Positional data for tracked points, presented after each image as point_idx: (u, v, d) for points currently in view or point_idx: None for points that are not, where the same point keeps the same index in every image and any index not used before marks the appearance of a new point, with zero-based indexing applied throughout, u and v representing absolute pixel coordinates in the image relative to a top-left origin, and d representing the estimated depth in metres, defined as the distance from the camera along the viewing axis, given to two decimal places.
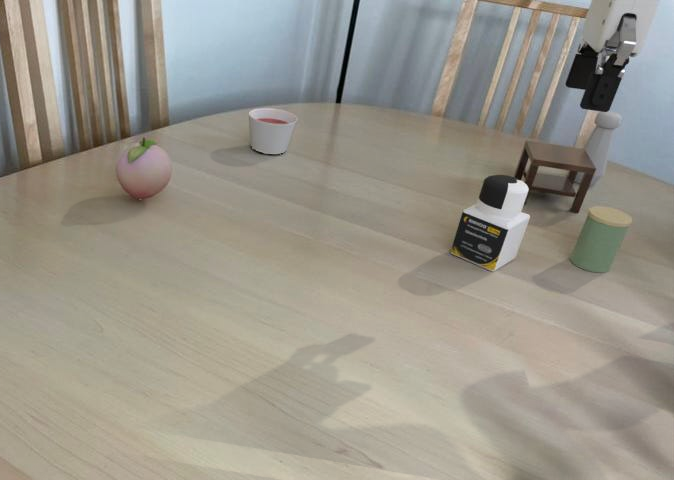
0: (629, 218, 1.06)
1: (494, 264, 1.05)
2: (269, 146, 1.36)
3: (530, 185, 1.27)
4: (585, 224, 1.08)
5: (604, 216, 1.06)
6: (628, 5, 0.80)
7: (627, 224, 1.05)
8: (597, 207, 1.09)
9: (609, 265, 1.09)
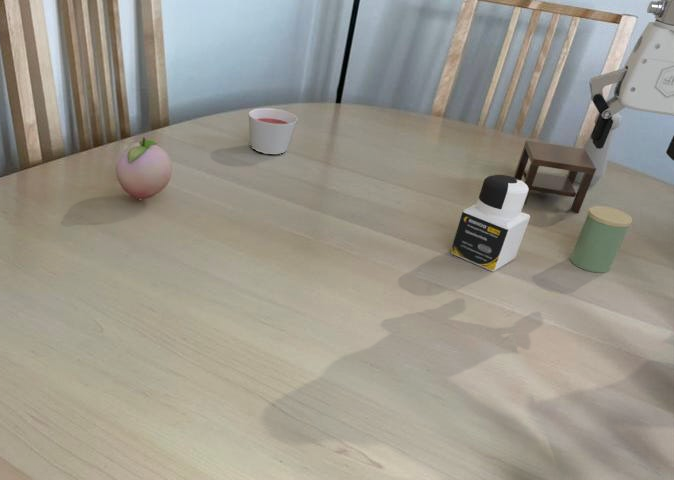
0: (629, 218, 1.06)
1: (494, 264, 1.05)
2: (269, 146, 1.36)
3: (530, 185, 1.27)
4: (585, 224, 1.08)
5: (604, 216, 1.06)
6: (629, 59, 0.96)
7: (627, 224, 1.05)
8: (597, 207, 1.09)
9: (609, 265, 1.09)
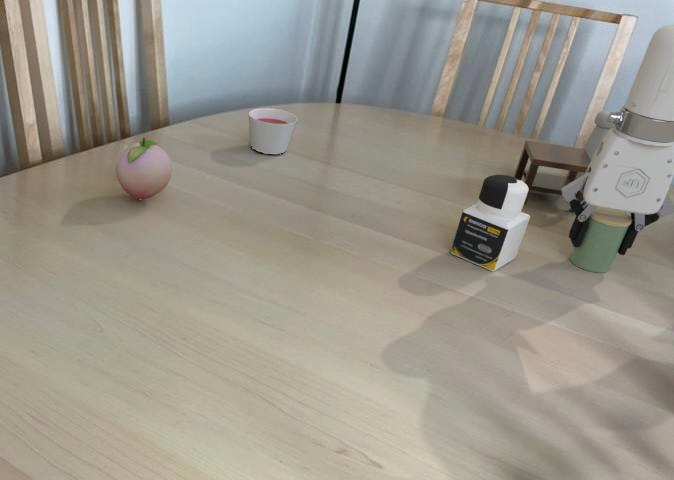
0: (629, 218, 1.06)
1: (494, 264, 1.05)
2: (269, 146, 1.36)
3: (530, 185, 1.27)
4: None
5: (604, 216, 1.06)
6: (592, 161, 1.04)
7: (627, 224, 1.05)
8: (597, 207, 1.09)
9: (609, 265, 1.09)
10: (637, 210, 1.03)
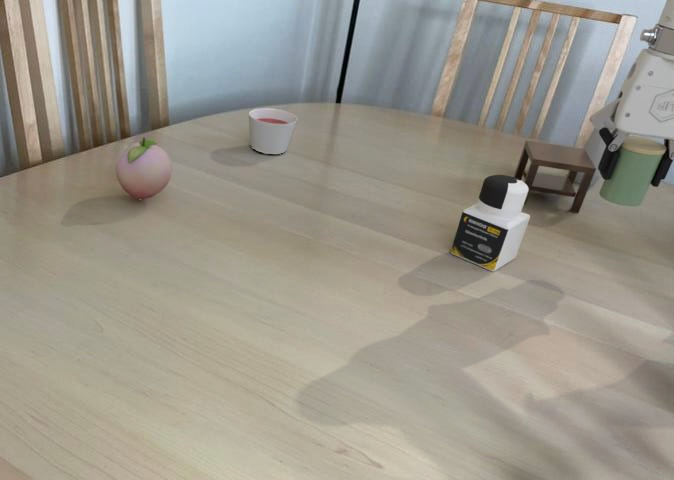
0: (663, 146, 1.00)
1: (494, 264, 1.05)
2: (269, 146, 1.36)
3: (530, 185, 1.27)
4: None
5: (636, 145, 1.00)
6: (623, 85, 0.98)
7: (661, 152, 0.99)
8: (628, 137, 1.03)
9: (642, 198, 1.03)
10: (672, 136, 0.97)
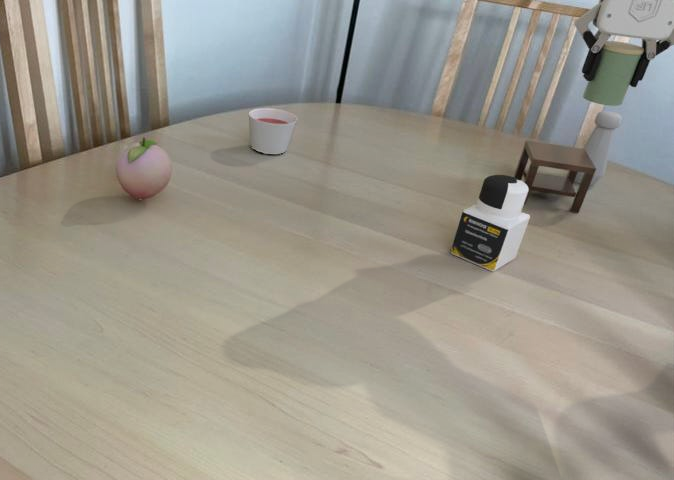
0: (641, 48, 1.09)
1: (494, 264, 1.05)
2: (269, 146, 1.36)
3: (530, 185, 1.27)
4: None
5: (617, 46, 1.09)
6: None
7: (639, 52, 1.08)
8: (609, 41, 1.11)
9: (622, 98, 1.12)
10: (649, 35, 1.06)
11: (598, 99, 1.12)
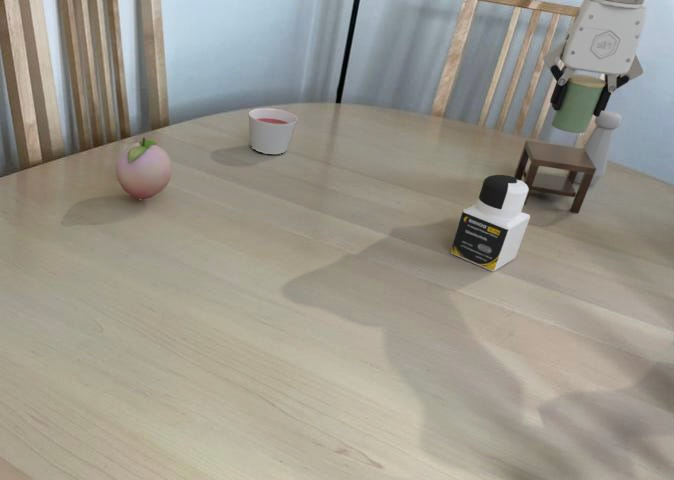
0: (603, 81, 1.20)
1: (494, 264, 1.05)
2: (269, 146, 1.36)
3: (530, 185, 1.27)
4: None
5: (581, 79, 1.20)
6: (570, 28, 1.18)
7: (601, 85, 1.18)
8: (575, 74, 1.22)
9: (586, 126, 1.22)
10: (609, 71, 1.17)
11: (564, 127, 1.23)
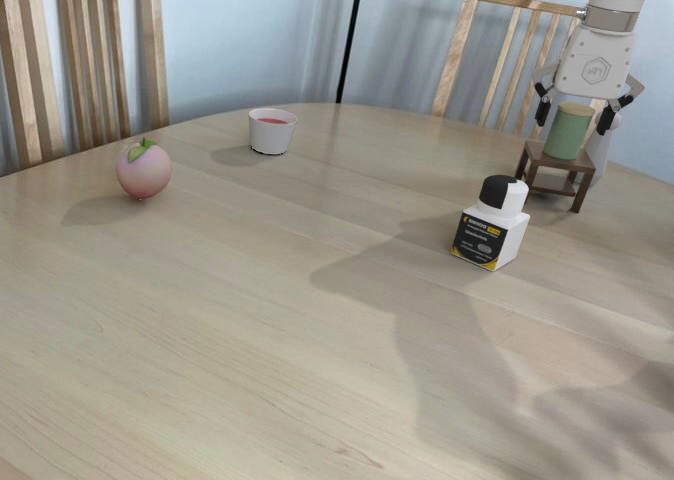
0: (592, 110, 1.22)
1: (494, 264, 1.05)
2: (269, 146, 1.36)
3: (530, 185, 1.27)
4: (555, 117, 1.24)
5: (571, 108, 1.22)
6: (561, 54, 1.20)
7: (590, 114, 1.21)
8: (565, 102, 1.25)
9: (576, 153, 1.25)
10: (600, 96, 1.19)
11: (555, 154, 1.25)
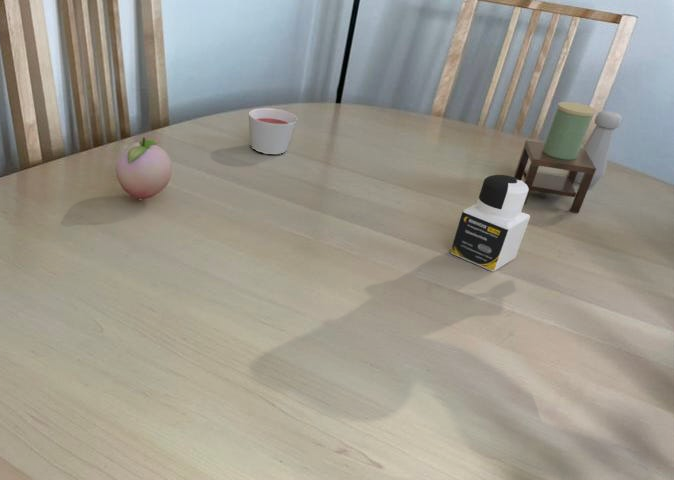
0: (592, 110, 1.22)
1: (494, 264, 1.05)
2: (269, 146, 1.36)
3: (530, 185, 1.27)
4: (555, 117, 1.24)
5: (571, 108, 1.22)
6: None
7: (590, 114, 1.21)
8: (565, 102, 1.25)
9: (576, 153, 1.25)
10: None
11: (555, 154, 1.25)
